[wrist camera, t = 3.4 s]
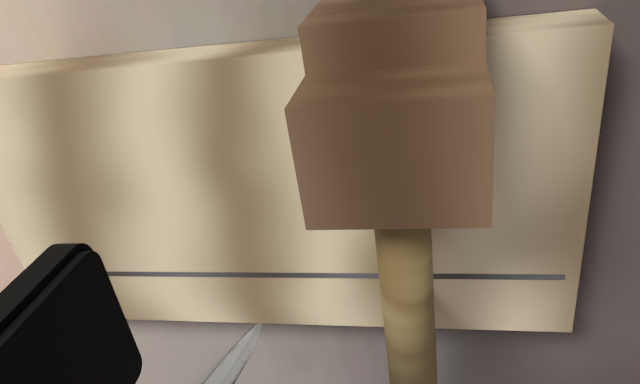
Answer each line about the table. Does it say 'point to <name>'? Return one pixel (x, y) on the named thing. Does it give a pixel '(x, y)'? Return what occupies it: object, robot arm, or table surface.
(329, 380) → the table surface
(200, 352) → the table surface
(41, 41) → the table surface
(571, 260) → the maple board
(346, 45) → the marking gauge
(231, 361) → the scissors
